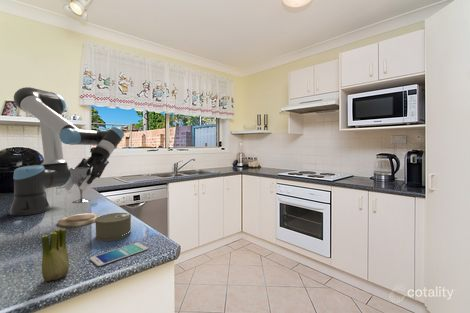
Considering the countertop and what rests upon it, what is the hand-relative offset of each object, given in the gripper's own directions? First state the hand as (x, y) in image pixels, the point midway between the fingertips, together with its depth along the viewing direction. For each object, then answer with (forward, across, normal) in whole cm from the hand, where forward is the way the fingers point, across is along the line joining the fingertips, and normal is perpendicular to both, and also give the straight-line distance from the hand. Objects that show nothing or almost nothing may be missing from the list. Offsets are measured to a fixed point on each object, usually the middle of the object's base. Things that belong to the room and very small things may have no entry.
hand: (74, 189), depth 100 cm
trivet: (+8, +1, -13) cm, 15 cm away
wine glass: (+2, 0, -7) cm, 7 cm away
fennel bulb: (+35, -34, +14) cm, 51 cm away
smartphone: (+25, -40, +3) cm, 48 cm away
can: (+16, -26, -6) cm, 31 cm away
